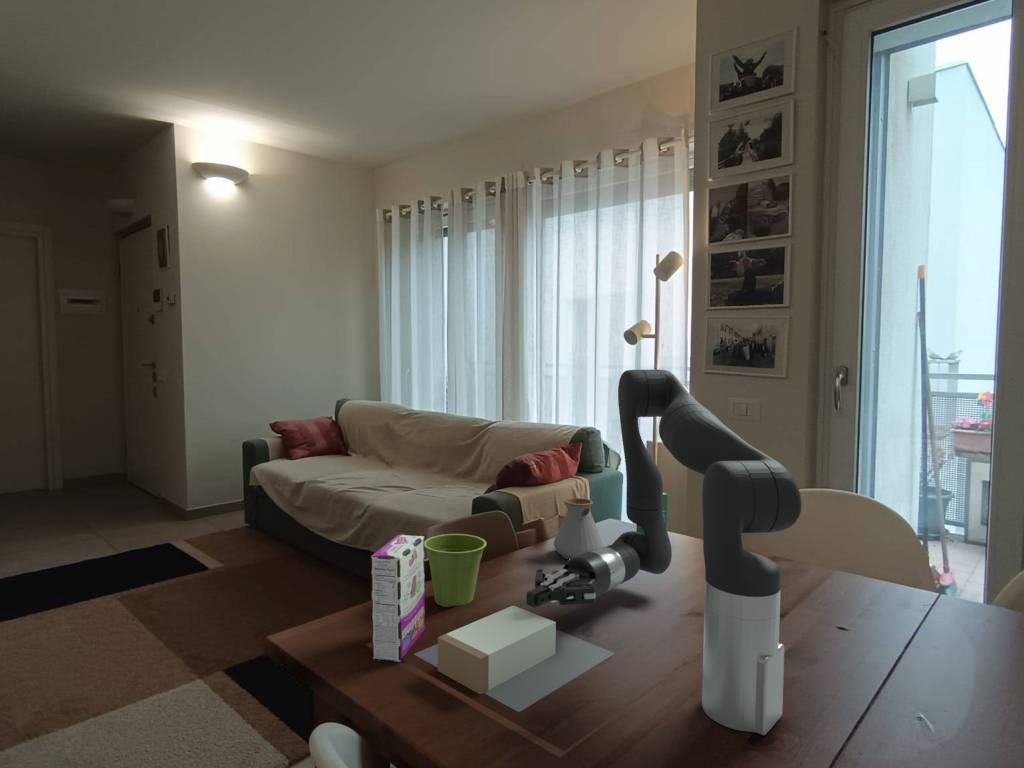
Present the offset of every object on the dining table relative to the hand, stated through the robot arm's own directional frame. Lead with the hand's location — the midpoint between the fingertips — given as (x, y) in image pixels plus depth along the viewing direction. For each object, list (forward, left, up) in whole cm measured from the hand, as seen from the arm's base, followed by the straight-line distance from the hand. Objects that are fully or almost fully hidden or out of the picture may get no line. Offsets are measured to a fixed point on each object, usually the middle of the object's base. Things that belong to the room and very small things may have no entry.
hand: (530, 600), depth 98 cm
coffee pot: (+19, -39, -8) cm, 44 cm away
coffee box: (+14, -61, -8) cm, 63 cm away
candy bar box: (+16, +13, -8) cm, 23 cm away
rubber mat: (0, +3, -8) cm, 9 cm away
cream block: (0, -1, -5) cm, 5 cm away
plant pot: (+23, -5, -8) cm, 25 cm away
